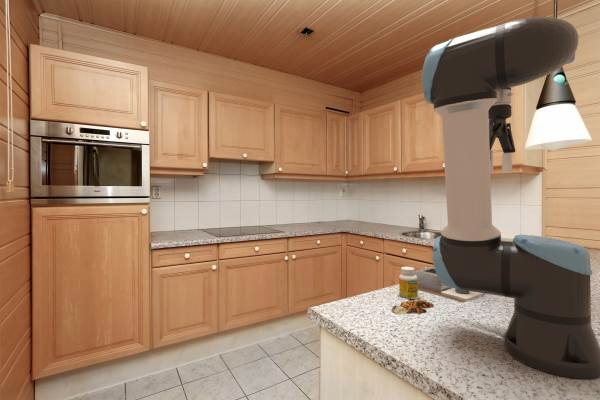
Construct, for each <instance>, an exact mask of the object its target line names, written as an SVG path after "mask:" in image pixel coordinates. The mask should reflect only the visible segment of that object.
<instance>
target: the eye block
mask: <svg viewBox="0 0 600 400" xmlns="http://www.w3.org/2000/svg"><path fill="white" fill-rule="evenodd" d="M414 274H415V275H416V276H417V280H418V281H417V282H418V287H421V288H425V289H429V290H432V291H436V292H440V293H441V292H442V291H445V290H448V289H451V288H452V287H448V286H445V285H444V284H443V283H442V282H441V281H440V280H439V278H438V277H437V274H436V271H435V267H434V266H427V267H423V268H420V269H415V273H414Z"/></svg>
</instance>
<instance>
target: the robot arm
mask: <svg viewBox="0 0 600 400" xmlns="http://www.w3.org/2000/svg"><path fill="white" fill-rule="evenodd" d="M578 45H579V33H578V31H577V28H576V27H575V25H573V24H572V23H571V22H569V21H567V20H564V19H561V18H558V17H551V16H550V17H548V16H547V17H546V16H531V17H530V16H529V17H524V18H523V17H521V18H518V19H514V20H509V21H506V22H505V23H501V24H498V25H494V26H491V27H488V28H484V29H480V30H477V31H474V32H471V33H466V34H464V35H460V36H458V37H454V38H453V37H452V38H451V39H448V41H445V42H442V43H438V44H436V45H434V46H433V47H432V48H430V49H429V51H428V52H427V54H426V57H425V59H424V63H423V65H422V66H423V67H422V75H421V89H422V91H423V93H422V95H423V98H424V100H425V102H426V103H428V104H431V105H433V112H435V113H436V114H437V115H439V116H440V117H441V124H442V125H441V127H442V141H443V143H442V144H443V161H444V179H445V194H446V195H445V196H446V213H447V214H446V215H447V216H446V217H447V224H446V226H445V227H444V228H442V230H441V231H440V236H438V237H436V239H435V240H434V241H433V244H432V245H433V247H432V249H433V252H432V261H433V267H435V271H436V274H437V277H438V278H439V280H440V281H441V282H442V283H443V284H444V285H445V286H448V287H452V288H457V289H459V290H462V291H472V292H479V293H485V294H484V295H493V296H499V297H504V298H510V299H514V300H513V302H514V303H513V304H514V307H513V309H514V310H513V312H512V316H511V319H510V321H509V324H508V326H507V327H506V331H505V333H504V339H503V340H504V341H503V342H504V346H503V347H504V349H505V351H506V352H507V353H508V354H509V355H511V357H513V358H514V359H516V360H518V361H519V362H520V363H523V364H524V365H527V366H529V367H532V368H533V369H536V370H539V371H541V372H544V373H548V374H552V375H555V376H560V377H566V378H573V379H584V380H585V379H596V378H599V377H600V344H599V342H598V339H597V337H596V335H595V332H594V329H593V328H592V301H591V300H592V293H591V291H592V290H591V289H592V288H591V287H592V286H591V276H592V275H593V270H592V266H591V265H592V264H591V255H590V253H589V251H588V250H587V248H585V247H583V246H582V245H580V244H577V243H575V242H570V241H566V240H562V239H557V238H552V237H546V236H539V235H534V234H533V235H532V234H530V235H528V234H516V235H514V237H513V238H512V241H508V240H502V236H501V235H502V232H501V231H500V229H498V228H497V227H496V226H494V225H493V216H492V215H493V214H492V213H493V209H492V181H491V179H492V178H491V172H494V150H493V146H494V144H495V141H496V139H498V142H499V144H500V147H501V150H502V152H503V153H501V173H503V174H504V173H513V153H516V148H515V143H514V142H515V141H514V138H513V132H512V126H511V125H512V123H511V122H506V121H507V119H509V118H511V117H512V114H513V113H512V105H511V104H512V96H513V95H514V93H513V92H512V88H515V87H519V86H522V85H525V84H529V83H531V82H535V81H536V80H538V79H542V78H543V77H546V76H548V75H550V74H553V73H554V72H556V71H558V70H560V69H561V68H563V67H564V66H565V65H569V64H571V63H573V62H574V61H575V58H576V52H577V49H578Z"/></svg>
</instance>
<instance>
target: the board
mask: <svg viewBox="0 0 600 400" xmlns="http://www.w3.org/2000/svg"><path fill="white" fill-rule="evenodd" d="M418 291H419V292H420V291H421V292H424V293H427V294H430V295H431V294H432V295H435V296H438V297H442V298H446V299H448V300H451V301H455V302H459V303H466V302H468V301H470V300H468V301H465V300H461V299H457V298H454V297H450V296H447V295H443V294H441V293H440V292H436V291H432V290H429V289H425V288H421V287H418ZM483 295H486V294H485V293H484V294H483ZM478 297H480V296H478ZM478 297H477V298H478ZM474 299H475V298H473V299H472V300H474Z"/></svg>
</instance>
